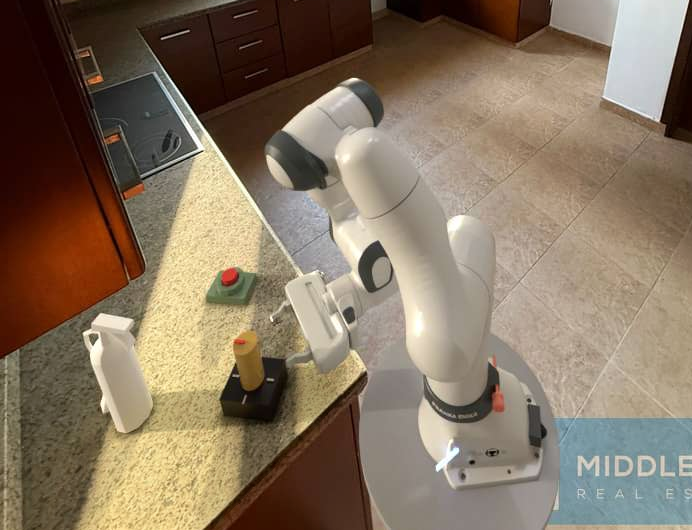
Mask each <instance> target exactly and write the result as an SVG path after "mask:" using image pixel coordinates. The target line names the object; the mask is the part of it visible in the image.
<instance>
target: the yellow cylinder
mask: <svg viewBox="0 0 692 530" xmlns="http://www.w3.org/2000/svg"><path fill="white" fill-rule="evenodd" d="M232 349H233V350H232V351H233V355H234V360H235V362H236V363H237V368H238V372H239V376H240V380H241V384H242V387H243V389H245V390H247V391H252V390H255V389H256V388H258V387H259V386H260V385H261V383H262V381H263V379H264V375H265V373H264V368H263V363H262V358H261V354H262V353H261V349H260V345H259V340H258V336H257V334H256V332H255V331H252V330H246V331H243V332H242V333H240V334H239V335H238V336H237V337H236V338H234V340H233V344H232Z"/></svg>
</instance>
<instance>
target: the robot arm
mask: <svg viewBox="0 0 692 530" xmlns="http://www.w3.org/2000/svg"><path fill="white" fill-rule="evenodd" d="M384 108H385V107H384V103H383V100H382V98H381V96H380V95H379V93H378V92H377V91H376V89H375V88H374V87H373V86H372V85H371V84H370V83H368V82H367V81H365V80H363V79H360V78H358V77H351V78H349V79H345V80H344V81H342V82H340V83H338V84H336V85H335V87H334V88H333V89H332V90H330V91H328V92H327V93H325V94H323V95H322V96H320V97H319V98H318V99H316V100H314V102H311V104H308V105H306V106H305V107H304V108H302V109H301V110H300V111H299V112H298V113H297V114H296V115H295V116H293V117H292V119H290V120H289V121H288V122H287V123H286V124H285V125H284V127H282V129H278V130H277V131H275V133H274V134H273V135H272V136H271V138H270V139H269V140H268V141H267V143H266V144H265V146H264V158H265V160H266V164H267V168H268V169H269V172H270V173H271V175H272V176H273V178H274V179H275V180H276V181H277V182H278V183H279V184H281V185H283V187H286V188H287V189H288V190H290V191H293V192H306V193H307V194H308V196H309V197H310V198H311V199H312V200H313V201H314V203H315V204H317V206H318V207H319V208H322V209H325V210H326V212H327V214H328V233H329V237H330V239H331V240H332V242H333V243H334V244H335V245H336V247H337V248H338V249H339V251H340V252H341V253H342V255H343V256H344V259H345V260H346V262H347V263H348V264H349V266H350V268H351V271H350V272H346V273H344V274H343V275H340V276H339V277H337V278H336V279H334V280H332V281H331V282H330V281H329V279H328V278H327V275H326V273H325V272H324V271H320V270H314V271H311V272H309V273H306V274H303V275H300V276H298V277H296V278H294V279H291V280H290V281H288V282H287V283H286V285H285V286H284V292H285V298H286V300H284V301H283V302H282V304H281V305H280V306H279V308H278V309H277V310H276V311H275V312H273V313H271V314H270V315H269V320H270V323H271V325H272V327H276V326H277V325H279V324H281V323H282V321H281V319H282V318H283V316H284V315H285V314H290V313H291V312H292V314H293V317H294V319H295V322H296V324H297V326H298V328H299V331H300V333H301V336H302V339H303V341H304V343H305V345H306V347H304V349H303V352H297V353H296V352H294V350H293V349H292V350H290V351H289V353H286V354H285V355H284V359H285V364H286V368H288V369H290V368H291V367H293V366H295V365H296V364H308V363H309V362H311V361H312V362H313V365H314V366H315V367H314V368H315V369H316V371H317V373H318V374H319V375H326V374H327V375H328V373H330V372H332V371H333V370H334V369H336V368H337V367H338V366H339V365H340V364H342V363H343V362H344V361H345V360H346V359H347V358H348V357H349V355H350V353H351V351H356V350H357V349H358V348H360V347H361V333H360V325H359V319H360V318H361V317H363V316H364V315H365V314H366V313H367V311H369V310H370V309H372V308H376V307H379V306H380V305H381V304H383V303H385V302H386V301H388V300H389V299H390V298H392V297H393V296H394V295H396V294H397V293H398V292H400V297H401V301H402V306H403V311H404V318H405V335H406V347H407V350H408V353H409V355H410V357H411V359H412V361H413V363H414V364H415V365H416V367H417V368H418V369H419V370H420V371H421V372H422V384H423V391H424V396H423V398H422V400H421V403H420V407H419V413H418V425H419V431H420V435H421V439H422V441H423V444H424V446H425V448H426V449H427V451H428V453H429V454H430V455H431V457H432V458H433V459H434V460H435V461H436V462H437V463H438V465H436V470H437V471H439V470H440V469H441V468H442V469H443V471H444V473H445V475H446V478H447V480H448V482H449V484H450V485H451V487H452V488H453V489H455V490H465V489H472V488H480V487H487V486H495V485H503V484H510V483H518V482H526V481H533V480H536V479H538V478H539V475H540V473H541V470H542V465H543V453H544V449H543V439H544V438H545V437H546V435H547V430H546V428H545V427H544V425H543V424H542V423H541V419H540V406H536V403H535V400H534V398H533V396H532V394H531V392H530V390H529V389H528V387H527V386H526V385H525V384H524V383H521V382H519V380H518V379H517V378H516V376H514V375H513V374H511V373H509V372H507V371H505V370H503V369H501V368H499V367H498V366H497V364H496V359H495V355H494V354H493V359H492V358H489V339H490V332H491V330H492V329H491V328H492V319H493V318H492V317H493V307H494V298H495V297H494V294H495V284H496V283H495V282H496V268H497V251H496V250H497V249H496V239H495V234H494V233H493V232H492V230H491V228H490V227H489V226H488V225H487V224H486V223H485V222H483V221H482V220H480V219H479V218H476V217H475V216H471V215H466V214H461V215H460V214H459V215H455V216H453V217H451V218H450V219H449V220H447V216H446V212H445V210H444V207H443V206H442V204H441V203H440V201H439V200H438V198H437V196H436V195H435V194H434V192H433V191H432V189H431V188H430V186H429V184H428V183H427V181H426V180H425V179H424V177H423V176H422V174H421V172H420V171H419V169H418V168H417V167H416V166H415V164H414V162H413V161H412V160H411V159H410V157H409V156H408V155H407V154H406V152H405V151H404V150H403V149H402V147H400V145H398V143H397V142H396V141H395V140H394V139H393V138H392V137H391V136H390V135H389V134H388V133H386V131H385V130H383V129H381V128H379V125H380V124H381V122H382V120H383V118H384V117H385V110H384ZM527 400H529V401H531V403H528V402H527ZM534 455H538V456H539V458H536V457H535V456H534ZM508 473H510V474H508ZM461 476H465V477H466V479H465V480H462V479H461Z"/></svg>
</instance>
